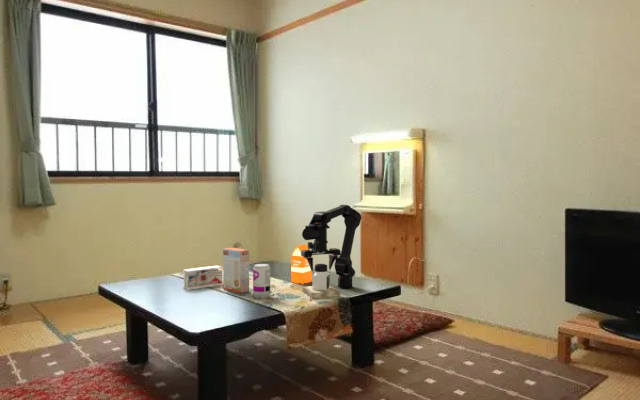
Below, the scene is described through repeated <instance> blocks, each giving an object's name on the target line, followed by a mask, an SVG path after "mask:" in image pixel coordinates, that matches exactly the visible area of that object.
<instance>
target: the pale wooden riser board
mask: <svg viewBox="0 0 640 400" xmlns="http://www.w3.org/2000/svg"><path fill="white" fill-rule="evenodd" d="M301 291H302V293H303V292H304V294H305V295H306V294H307V295H306V296H307V297H309V296H310V297H309V298H310V299H321V297H323V298H332V297H333V296H334V297H340V295H341V293H340V290H339V289H338V288H336V287H334V286H332V285H330V287H329V288H328V290H327V291H324V290H313V289H312V285H309V286H302V290H301Z"/></svg>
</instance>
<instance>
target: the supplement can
mask: <svg viewBox="0 0 640 400" xmlns="http://www.w3.org/2000/svg"><path fill="white" fill-rule="evenodd" d="M252 285H253V286H252V296H253V297H254V298H256V299H267V298H269V297H270V296H271V266H270V264H268V263H256V264H253V268H252Z"/></svg>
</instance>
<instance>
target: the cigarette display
mask: <svg viewBox="0 0 640 400" xmlns="http://www.w3.org/2000/svg"><path fill="white" fill-rule="evenodd" d="M219 269H222V270H219ZM182 272H183V273H182V274H183V277H182V278H183V289H184V288H185V289H187V290H192V289H193V290H194V289H201V288H207V287H215V286H221V285H222V284H223V267H222V266H221V265H211V266H210V265H208V266H202V267H194V268H193V267H192V268H186V269H185V268H184V269H183V270H182ZM222 286H223V285H222Z"/></svg>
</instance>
